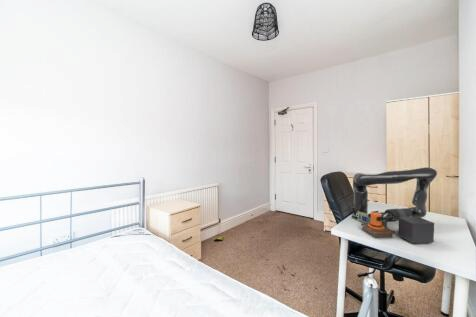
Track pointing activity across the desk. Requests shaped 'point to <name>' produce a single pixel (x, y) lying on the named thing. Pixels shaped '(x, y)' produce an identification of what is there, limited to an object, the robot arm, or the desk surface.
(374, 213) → the hat
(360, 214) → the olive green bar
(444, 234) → the desk surface
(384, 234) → the stand
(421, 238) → the dark grey cube pedestal
